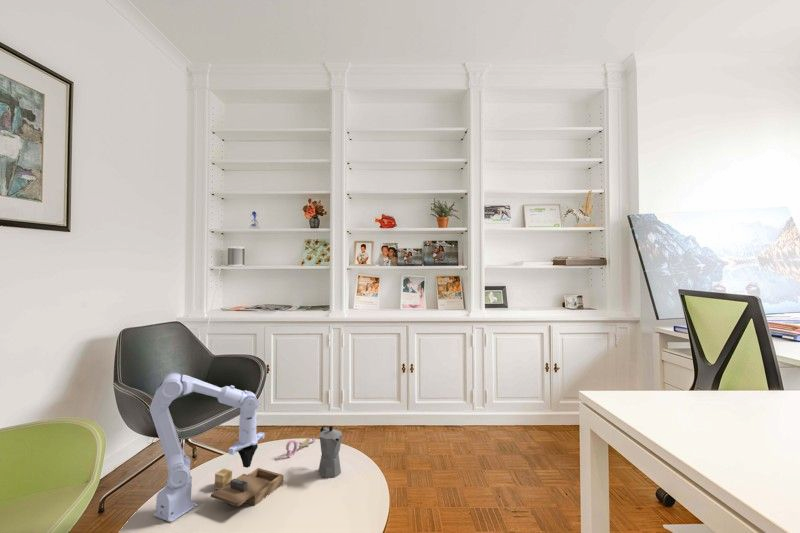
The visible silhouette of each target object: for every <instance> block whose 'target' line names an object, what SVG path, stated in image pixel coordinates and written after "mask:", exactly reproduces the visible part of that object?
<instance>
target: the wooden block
mask: <svg viewBox="0 0 800 533" xmlns="http://www.w3.org/2000/svg"><path fill="white" fill-rule="evenodd" d="M231 480H233V470H230V469H227V468H223V469H221V470H219V471H217V472H215V474H214V488H215V489H217V490H218V489H220V488H222V487H223V486H225V485H226V484H228V483H230V482H231Z"/></svg>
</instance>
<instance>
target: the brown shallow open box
mask: <svg viewBox="0 0 800 533" xmlns="http://www.w3.org/2000/svg"><path fill="white" fill-rule="evenodd" d="M247 475H250V476H253V477H257V478H260V479H263V480H267V481H269V485H267V486H266V487H265V488H263V489H262V490H261V491H259V492H258V493H256V494H255V495H254V496H252V497H251V498H249V499H248V500H247V501H245V502H244V503H246V502H247V503H246V504H249V503H250V504H249V505H252V506H256V505H257V504H259V503H260V502H262V501H263V500H264V499H265V498H267V497H268V496H269V495H271V494H272V493H274V492H275V491H276V490H277V489H279V488H280V487H282V486H283V485H284V474H282V473H278V472H274V471H271V470H267V469H264V468H261V467H257V468H256V469H253V471H251V472H249V473H248V474H247ZM282 484H283V485H282ZM274 490H275V491H274ZM270 493H271V494H270ZM267 495H268V496H267ZM266 496H267V497H266ZM263 498H264V499H263ZM262 499H263V500H262ZM258 502H259V503H258Z"/></svg>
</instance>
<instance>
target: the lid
mask: <svg viewBox="0 0 800 533" xmlns="http://www.w3.org/2000/svg"><path fill="white" fill-rule="evenodd" d="M267 485H269V481H267V480H263V479H260V478H257V477H253V476H250V475H248V474H246V473H242V474H241V475H239V476H237V477H236V478H232V480H231V482H230V483H228V484H226V485H225V486H223V487H222V488H220V489H218V488H217V490H215V491H214V492H212V493H211V494H210V498H212V499H214V500H218V501H221V502H223V503H225V504H229V505H232V506H235V507H240V506H241V505H243V503H246V502H245V501H247V500H248V499H249V498H251V497H252V496H254V495H255V494H256V493H258V492H259V491H261V490H262V489H263V488H265V487H266V486H267Z"/></svg>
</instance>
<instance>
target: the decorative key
mask: <svg viewBox="0 0 800 533" xmlns="http://www.w3.org/2000/svg"><path fill="white" fill-rule="evenodd" d="M316 440H317V438H315V437H311V438H310V437H307V438H306V439H305V440H304V441H296V440H294V439H289V440H288V442H287V443H286V446H285V449H286V457H288V458H291V457H290V456H292V455H293V456H295V454H296V452H297V451H299V449H298V447H299V448H302V447H303V446H306V447H309V445H310V443H311V444H314V443H315V442H316ZM292 443H293V449H292V450H290V445H291V444H292ZM293 456H292V457H293Z"/></svg>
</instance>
